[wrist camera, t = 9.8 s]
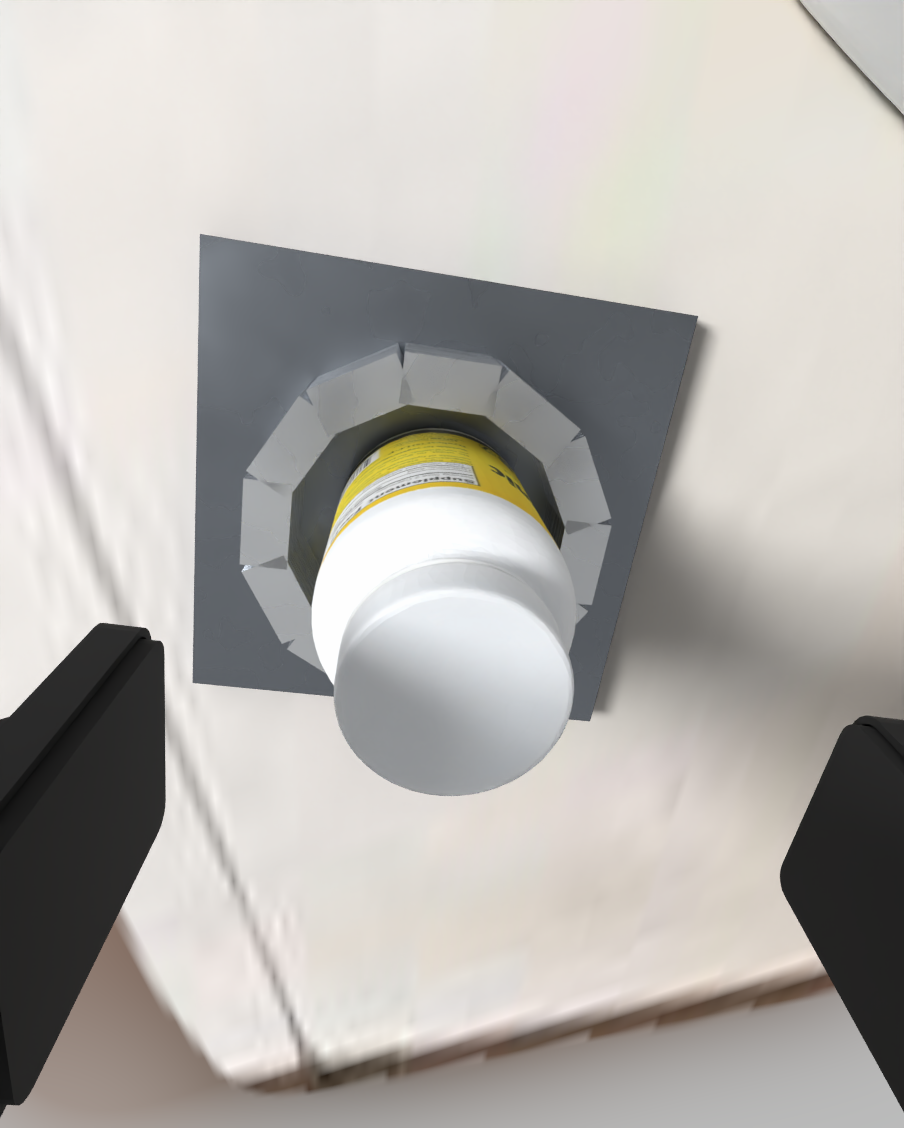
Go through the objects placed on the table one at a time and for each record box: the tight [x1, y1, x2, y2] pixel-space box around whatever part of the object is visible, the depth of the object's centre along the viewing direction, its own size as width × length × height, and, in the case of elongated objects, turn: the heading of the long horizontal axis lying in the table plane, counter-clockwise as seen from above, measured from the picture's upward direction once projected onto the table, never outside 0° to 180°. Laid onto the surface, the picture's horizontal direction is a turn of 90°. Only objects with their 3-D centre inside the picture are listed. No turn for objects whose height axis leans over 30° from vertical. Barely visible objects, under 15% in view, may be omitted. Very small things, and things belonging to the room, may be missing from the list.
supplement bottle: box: [312, 428, 576, 796], centre depth 16 cm, size 5×5×10 cm
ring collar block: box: [193, 234, 698, 721], centre depth 20 cm, size 13×13×4 cm
